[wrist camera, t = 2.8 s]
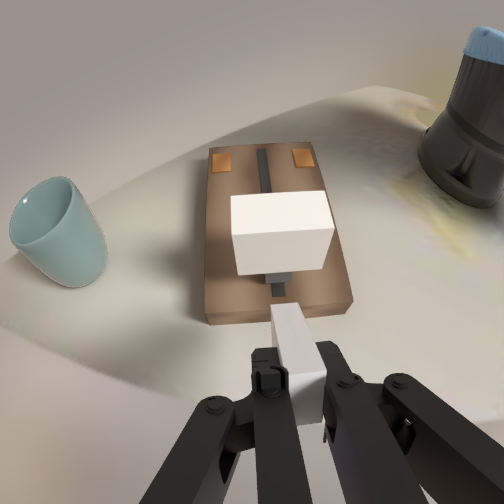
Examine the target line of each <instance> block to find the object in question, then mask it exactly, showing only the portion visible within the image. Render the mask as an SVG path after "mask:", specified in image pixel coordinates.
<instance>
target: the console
mask: <svg viewBox="0 0 504 504" xmlns="http://www.w3.org/2000/svg"><path fill="white" fill-rule="evenodd" d="M300 191H325V194H326V197H327V201H328V205H329V208H330V212H331V216H332V219H333V223H334V227H335V229H334V232H333V236H332V239H331V242H330V245H329V248H328V251H327V254H326V258H325V261H324V264H323V267H322V269H316V270H304V271H293V272H292V278H291V282H281V283H268V284H266V281H265V274H252V275H238V271H237V265H236V259H235V253H234V246H233V240H232V230H231V196H236V195H250V194H264V193H281V192H300ZM297 302H298V304H299V306H300V309H301V311H302V313H303V316H304V318H312V317H322V316H331V315H339V314H345V313H346V311H347V310H348V309H349V307H350V306H351V304H352V303H353V296H352V291H351V287H350V282H349V278H348V273H347V269H346V265H345V261H344V256H343V252H342V248H341V244H340V240H339V236H338V232H337V229H336V225H335V221H334V217H333V214H332V210H331V206H330V203H329V199H328V196H327V192H326V189H325V185H324V182H323V179H322V175H321V172H320V169H319V166H318V162H317V159H316V156H315V153H314V150H313V147H312V144H311V142H296V143H270V144H252V145H238V146H226V147H215V148H209V162H208V181H207V203H206V231H205V275H204V314H205V316H206V318H207V320H208V322H209V323H210V325H222V324H239V323H254V322H268V321H271V305H273V304H285V303H297Z"/></svg>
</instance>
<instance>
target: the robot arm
mask: <svg viewBox="0 0 504 504" xmlns="http://www.w3.org/2000/svg"><path fill="white" fill-rule="evenodd" d="M463 53H464V56H463V59H462V62H461V66H460V69H459V72H458V75H457V78H456V81H455V84H454V87H453V89H452V92H451V95H450V98H449V101H448V103H447V106H446V108H445V110H444V111H443V112H442V114H441V115H440V116H439V117H438V118H437V119H436V121H435V122H434V123H433V125H432V126H431V127H429V128H428V129H427V130H426V131H425V132H424V134H423V135H422V138H421V140H420V143H419V145H418V156H419V159H420V162H421V164H422V166H423V167H424V169H425V170H426V172H427V173H428V175H429V176H430V177H431V178H432V179H433V180H434V181H435V182H436V183H437V184H438V185H439V186H440V187H441V188H442V189H443V190H445V191H446V192H447V193H448V194H450V195H451V196H453V197H454V198H456V199H458V200H459V201H461V202H463V203H465V204H468V205H471V206H474V207H478V208H488V207H491V206H493V205H494V204H495V203H496V202H497V201H498V199H499V198H500V197H501V195H502V194H503V191H504V33H503V32H500V31H498V30H495V29H492V28H489V27H486V26H477V27H475V28H473V30H472V31H471V34H470V37H469V39H468V42H467V45H466V48H464V50H463ZM271 328H272V347H270V348H257V349H255V350H254V352H253V353H252V354H251V359H252V374H251V380H252V391H251V393H250V394H249V395H248V396H247V397H245V398H244V399H241V400H238V401H235V402H232V400H230V399H229V398H227V397H223V396H211V397H207V398H205V399H203V400H201V401H200V402H199V403H198V405H197V406H196V408H195V410H194V412H193V414H192V415H191V417H190V419H189V420H188V422H187V424H186V425H185V427H184V429H183V431H182V433H181V434H180V436H179V438H178V439H177V441H176V443H175V444H174V446H173V448H172V450H171V451H170V453H169V455H168V456H167V458H166V460H165V461H164V463H163V465H162V466H161V468H160V470H159V471H158V473H157V475H156V476H155V478H154V480H153V481H152V483H151V484H150V486H149V488H148V489H147V491H146V493H145V494H144V496H143V498H142V499H141V501H140V503H139V504H223V501H224V498H225V496H226V493H227V490H228V487H229V485H230V482H231V479H232V476H233V474H234V471H235V468H236V465H237V462H238V460H239V457H240V452H241V451H245V450H248V449H251V448H255V453H256V472H257V490H258V504H313V503H312V498H311V493H310V489H309V483H308V479H307V474H306V469H305V464H304V460H303V455H302V450H301V445H300V441H299V435H298V431H297V426H298V425H306V424H313V423H320V422H322V419H323V415H324V418H325V429H324V438H323V443H325V442H326V438H327V440H328V443H329V447H330V450H331V453H332V456H333V460H334V463H335V466H336V470H337V474H338V477H339V480H340V484H341V487H342V490H343V494H344V498H345V501H346V504H429V503H428V501H427V499H426V497H425V495H424V493H423V491H422V489H421V487H420V485H421V486H422V487H423V489H424V490H425V491H426V492H427V493H428V494H429V495H430V496H431V497H432V498H433V499H434V500H435V501H436V502H437V503H438V504H504V448H503V447H502V446H501V445H500V444H499V443H497V442H496V441H495V440H493V439H492V438H491V437H490V436H488V435H487V434H486V433H484V432H483V431H482V430H480V429H479V428H478V427H477V426H475V425H474V424H473V423H471V422H470V421H469V420H468V419H466V418H465V417H464V416H462V415H461V414H460V413H459V412H457V411H456V410H455V409H453V408H452V407H451V406H449V405H448V404H447V403H446V402H444V401H443V400H442V399H440V398H439V397H438V396H437V395H435V394H434V393H433V392H431V391H430V390H429V389H427V388H426V387H425V386H424V385H422V384H421V383H420V382H418V381H417V380H416V379H415V378H413V377H412V376H410V375H408V374H404V373H394V374H390V375H389V376H387V377H386V378H385V380H384V383H383V384H373V383H366V382H364V380H363V379H362V378H361V377H360V376H359V375H357V374H355V373H352V372H351V370H350V368H349V366H348V364H347V362H346V360H345V359H344V358H343V355H342V353H341V351H340V349H339V348H338V346H337V345H336V344H334V343H333V342H332V341H323V342H315V341H314V339H313V337H312V334H311V332H310V330H309V327H308V325H307V323H306V320H305V318H304V316H303V313H302V311H301V309H300V306H299V304H298V302H297V303H285V304H273V305H271ZM406 419H407V420H408V421H409V422H410V423H409V422H408V421H407V420H406ZM419 484H420V485H419Z"/></svg>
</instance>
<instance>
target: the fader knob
mask: <svg viewBox="0 0 504 504" xmlns="http://www.w3.org/2000/svg"><path fill="white" fill-rule="evenodd" d="M334 229H335V227H334V223H333V219H332V216H331V212H330V208H329V205H328V201H327V197H326V194H325V191H300V192H281V193H264V194H250V195H236V196H231V230H232V240H233V246H234V253H235V259H236V265H237V271H238V275H252V274H265V281H266V284H268V283H281V282H291V278H292V272H293V271H304V270H316V269H322V267H323V264H324V261H325V258H326V254H327V251H328V248H329V245H330V242H331V239H332V236H333V232H334Z"/></svg>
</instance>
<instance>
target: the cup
mask: <svg viewBox="0 0 504 504" xmlns="http://www.w3.org/2000/svg"><path fill="white" fill-rule="evenodd" d="M9 228H10V229H9V232H10V238H11V241H12V243H13V244H14V245H15V246H16V248H17V249H18V250H19V251H20V252H21V253H22V254H23V255H24V256H25V257H26V258H27V259H28V260H29V261H30V262H31V263H32V264H33V265H34V266H35V267H37V268H38V269H39V270H40V271H41V272H42V273H44V274H45V275H46V276H47V277H49V278H50V279H52V280H53V281H55V282H57V283H59V284H61V285H63V286H66V287H72V288H75V287H82V286H85V285H87V284H89V283H91V282H93V281H94V280H96V279H97V278H98V277H99V276H100V274H101V273H102V272H103V270H104V268H105V266H106V262H107V255H108V251H107V244H106V239H105V236H104V234H103V232H102V229H101V227H100V225H99V223H98V221H97V219H96V218H95V216H94V214H93V213H92V211H91V209H90V208H89V206H88V204H87V203H86V201H85V200H84V199H83V197H82V195H81V194H80V192H79V190H78V189H77V187H76V186H75V185H74V183H73V182H72V181H71V180H70V179H68V178H66V177H61V176H59V177H54V178H50V179H48V180H45V181H43V182H42V183H40V184H38V185H37V186H35V187H34V188H32V189H31V190H30V191H29V192H28V193H27V194H26V195H25V196H24V197H23V198H22V199H21V200H20V202H19V203H18V205H17V206H16V208H15V210H14V212H13V215H12V218H11V221H10V227H9Z"/></svg>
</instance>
